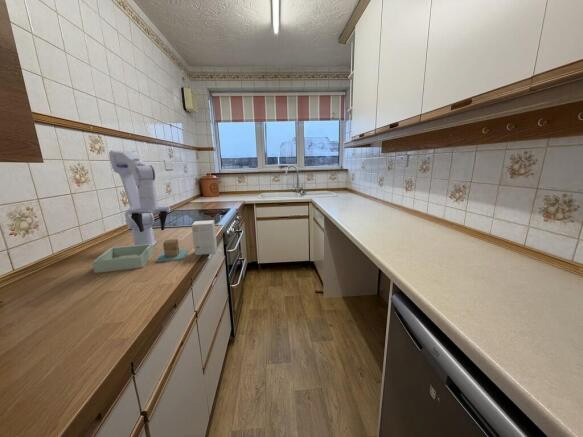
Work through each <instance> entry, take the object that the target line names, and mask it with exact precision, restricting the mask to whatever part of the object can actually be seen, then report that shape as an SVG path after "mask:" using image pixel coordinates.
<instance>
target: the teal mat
mask: <svg viewBox="0 0 583 437" xmlns="http://www.w3.org/2000/svg"><path fill="white" fill-rule="evenodd" d="M187 254H188V249H182V250H180V249H179V254H178V256H177V257H168V258H165V254H164V251H161V253H160V254H159V256H158V257H157V259H155V263H163V262H170V261H171V262H172V261H180V260H185V258H186V256H187Z"/></svg>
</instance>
